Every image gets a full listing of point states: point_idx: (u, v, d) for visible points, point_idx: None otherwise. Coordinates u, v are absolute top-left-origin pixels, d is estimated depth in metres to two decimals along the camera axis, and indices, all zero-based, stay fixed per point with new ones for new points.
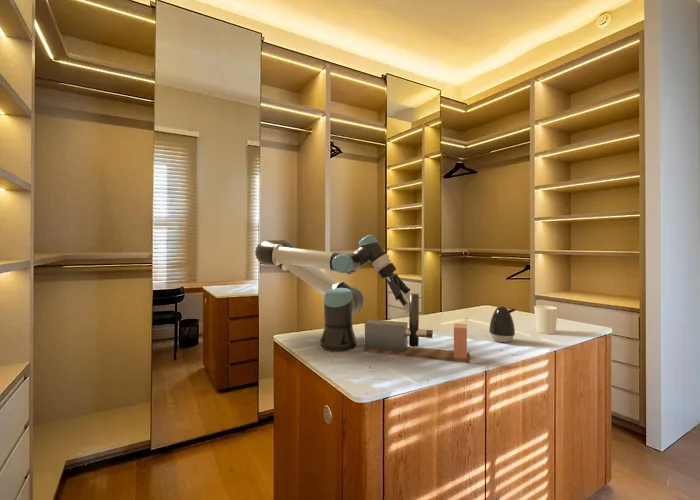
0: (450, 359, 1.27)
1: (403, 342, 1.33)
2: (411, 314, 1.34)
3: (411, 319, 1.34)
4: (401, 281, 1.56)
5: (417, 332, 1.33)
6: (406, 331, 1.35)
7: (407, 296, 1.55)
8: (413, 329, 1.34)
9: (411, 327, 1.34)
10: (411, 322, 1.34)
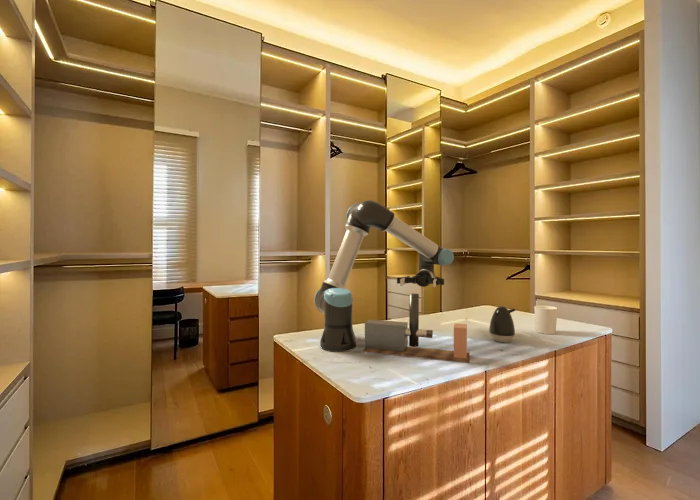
0: (450, 359, 1.27)
1: (403, 342, 1.33)
2: (411, 314, 1.34)
3: (411, 319, 1.34)
4: None
5: (417, 332, 1.33)
6: (406, 331, 1.35)
7: (404, 280, 1.51)
8: (413, 329, 1.34)
9: (411, 327, 1.34)
10: (411, 322, 1.34)
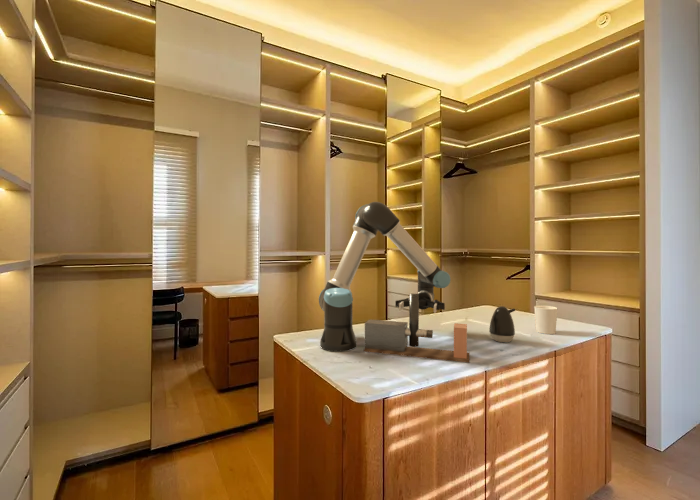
0: (450, 359, 1.27)
1: (403, 342, 1.33)
2: (411, 314, 1.34)
3: (411, 319, 1.34)
4: None
5: (417, 332, 1.33)
6: (406, 331, 1.35)
7: (403, 303, 1.45)
8: (413, 329, 1.34)
9: (411, 327, 1.34)
10: (411, 322, 1.34)
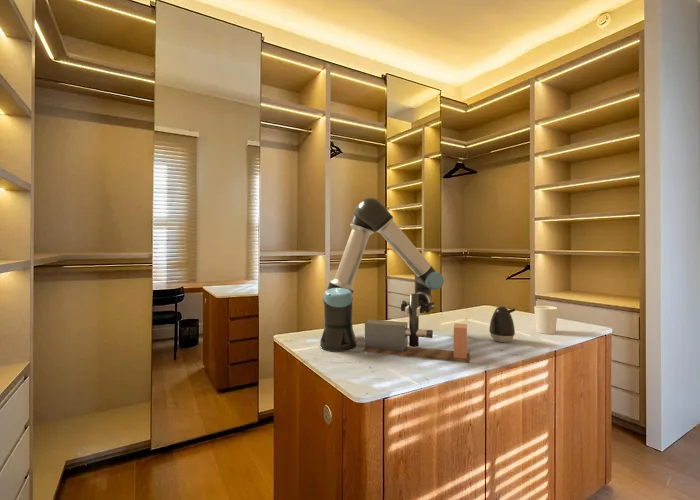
0: (450, 359, 1.27)
1: (403, 342, 1.33)
2: (411, 314, 1.34)
3: (411, 319, 1.34)
4: None
5: (417, 332, 1.33)
6: (406, 331, 1.35)
7: None
8: (413, 329, 1.34)
9: (411, 327, 1.34)
10: (411, 322, 1.34)
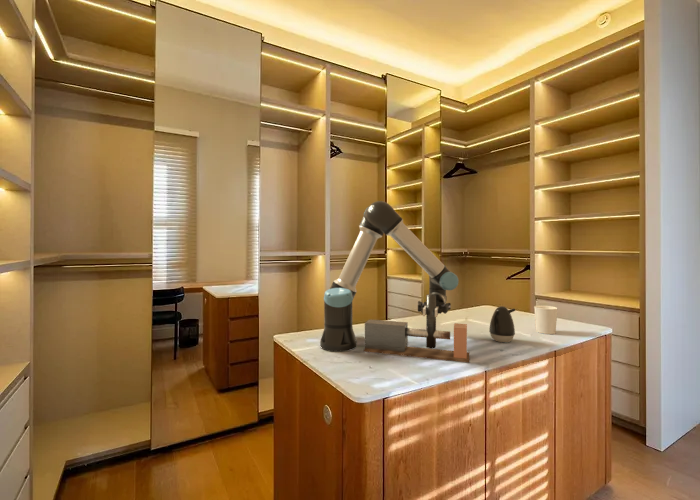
0: (450, 359, 1.27)
1: (403, 342, 1.33)
2: (428, 315, 1.32)
3: (428, 320, 1.32)
4: None
5: (435, 333, 1.31)
6: (423, 332, 1.33)
7: None
8: (430, 331, 1.31)
9: (428, 328, 1.32)
10: (428, 323, 1.32)
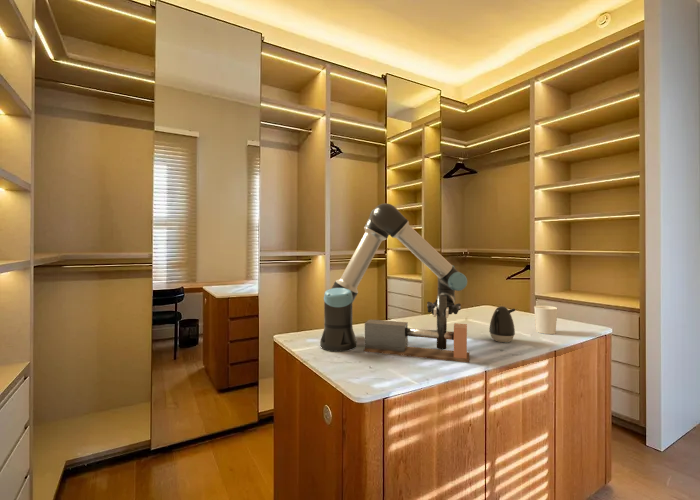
0: (450, 359, 1.27)
1: (403, 342, 1.33)
2: (439, 316, 1.30)
3: (439, 321, 1.31)
4: None
5: (445, 334, 1.30)
6: (434, 333, 1.31)
7: None
8: (441, 331, 1.30)
9: (439, 329, 1.31)
10: (439, 324, 1.31)
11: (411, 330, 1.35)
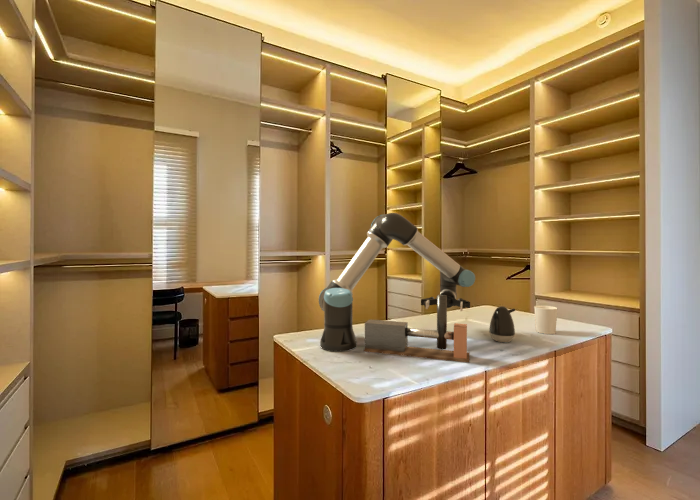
0: (450, 359, 1.27)
1: (403, 342, 1.33)
2: (439, 316, 1.30)
3: (439, 321, 1.30)
4: None
5: (445, 334, 1.30)
6: (434, 333, 1.31)
7: (428, 302, 1.48)
8: (441, 332, 1.30)
9: (439, 329, 1.31)
10: (439, 324, 1.31)
11: (411, 330, 1.35)
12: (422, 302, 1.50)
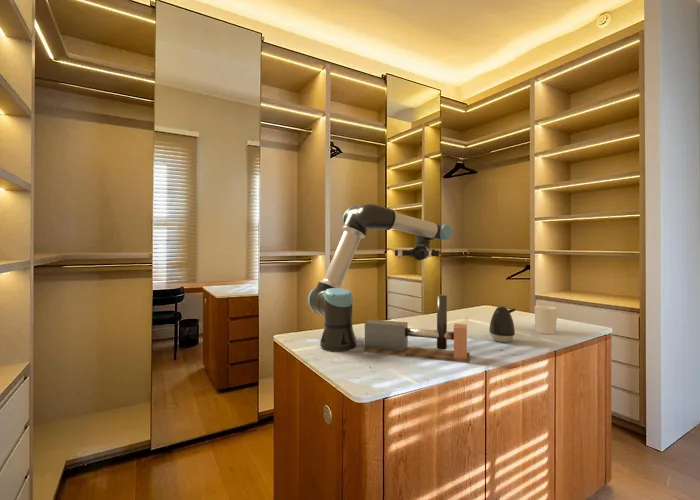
0: (450, 359, 1.27)
1: (403, 342, 1.33)
2: (439, 316, 1.30)
3: (439, 321, 1.30)
4: None
5: (445, 334, 1.30)
6: (434, 333, 1.31)
7: (401, 252, 1.61)
8: (441, 332, 1.30)
9: (439, 329, 1.31)
10: (439, 324, 1.31)
11: (411, 330, 1.35)
12: (396, 253, 1.64)
